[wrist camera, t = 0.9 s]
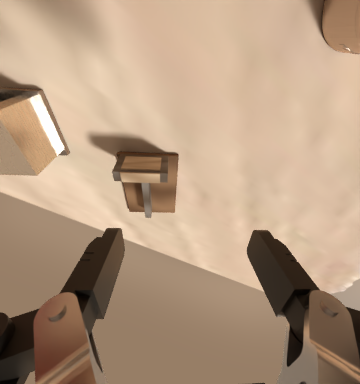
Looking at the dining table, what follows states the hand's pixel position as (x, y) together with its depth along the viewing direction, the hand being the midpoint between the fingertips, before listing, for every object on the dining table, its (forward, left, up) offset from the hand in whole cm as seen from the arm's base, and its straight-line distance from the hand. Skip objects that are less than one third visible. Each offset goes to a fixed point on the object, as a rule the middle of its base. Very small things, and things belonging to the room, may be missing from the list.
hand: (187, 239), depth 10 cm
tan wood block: (0, -19, -16) cm, 25 cm away
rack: (+10, -4, -17) cm, 20 cm away
